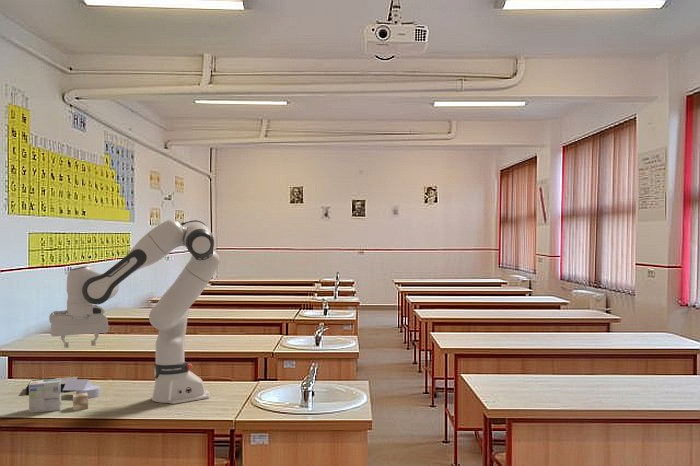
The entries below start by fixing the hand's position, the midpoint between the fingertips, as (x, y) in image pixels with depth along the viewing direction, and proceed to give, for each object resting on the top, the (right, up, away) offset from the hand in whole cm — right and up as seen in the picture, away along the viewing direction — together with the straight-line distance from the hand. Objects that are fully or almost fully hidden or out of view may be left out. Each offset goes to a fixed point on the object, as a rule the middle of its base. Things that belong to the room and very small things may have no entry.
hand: (79, 346), depth 250 cm
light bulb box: (-12, -24, -2) cm, 26 cm away
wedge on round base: (-6, -23, +18) cm, 30 cm away
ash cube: (0, -23, 0) cm, 23 cm away
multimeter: (-23, -24, +30) cm, 45 cm away
